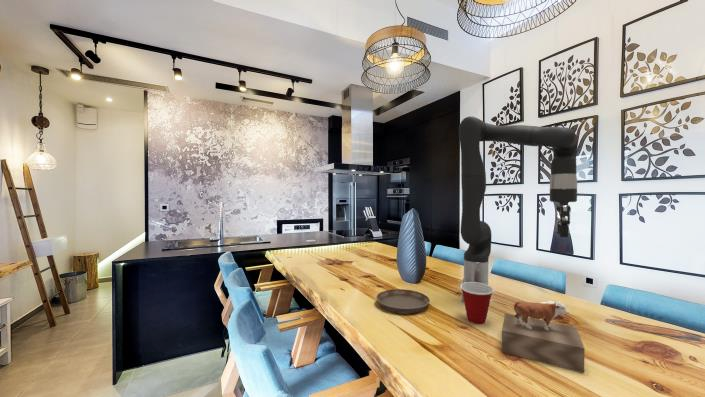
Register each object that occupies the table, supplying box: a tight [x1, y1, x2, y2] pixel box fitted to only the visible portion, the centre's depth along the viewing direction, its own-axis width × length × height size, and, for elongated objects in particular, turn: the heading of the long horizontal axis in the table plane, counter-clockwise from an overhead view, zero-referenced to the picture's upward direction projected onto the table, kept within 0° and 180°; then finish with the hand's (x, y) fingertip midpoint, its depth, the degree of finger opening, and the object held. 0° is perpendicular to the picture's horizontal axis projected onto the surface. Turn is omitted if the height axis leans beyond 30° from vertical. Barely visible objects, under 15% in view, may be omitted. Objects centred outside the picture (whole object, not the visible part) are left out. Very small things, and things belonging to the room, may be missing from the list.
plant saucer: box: [375, 288, 431, 315], centre depth 114 cm, size 21×21×3 cm
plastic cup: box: [459, 282, 495, 325], centre depth 100 cm, size 11×11×12 cm
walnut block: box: [501, 313, 586, 374], centre depth 81 cm, size 18×14×6 cm
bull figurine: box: [513, 300, 570, 331], centre depth 81 cm, size 4×13×8 cm, turn 75°
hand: (562, 235), depth 98 cm, fingers open, 8 cm apart
